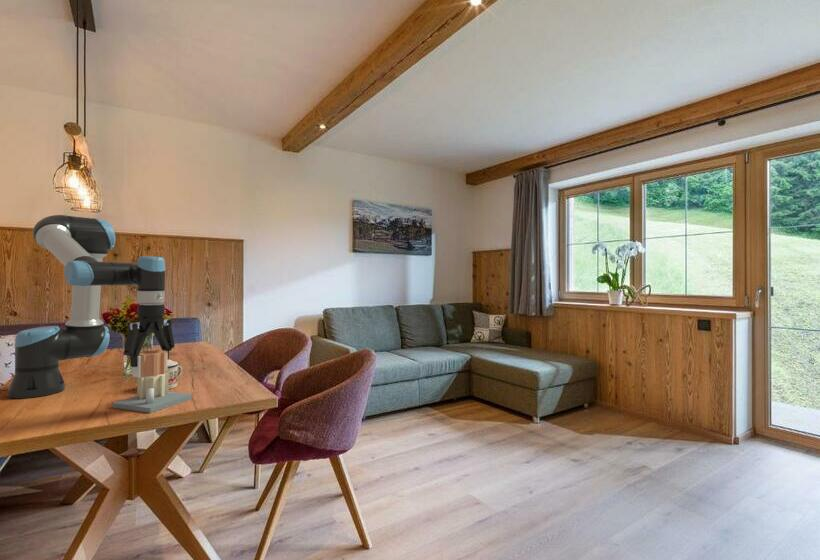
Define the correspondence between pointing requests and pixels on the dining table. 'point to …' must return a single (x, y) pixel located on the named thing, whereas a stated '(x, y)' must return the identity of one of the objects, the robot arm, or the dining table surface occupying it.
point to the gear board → (153, 406)
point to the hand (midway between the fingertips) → (150, 373)
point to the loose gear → (153, 363)
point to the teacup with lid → (173, 373)
